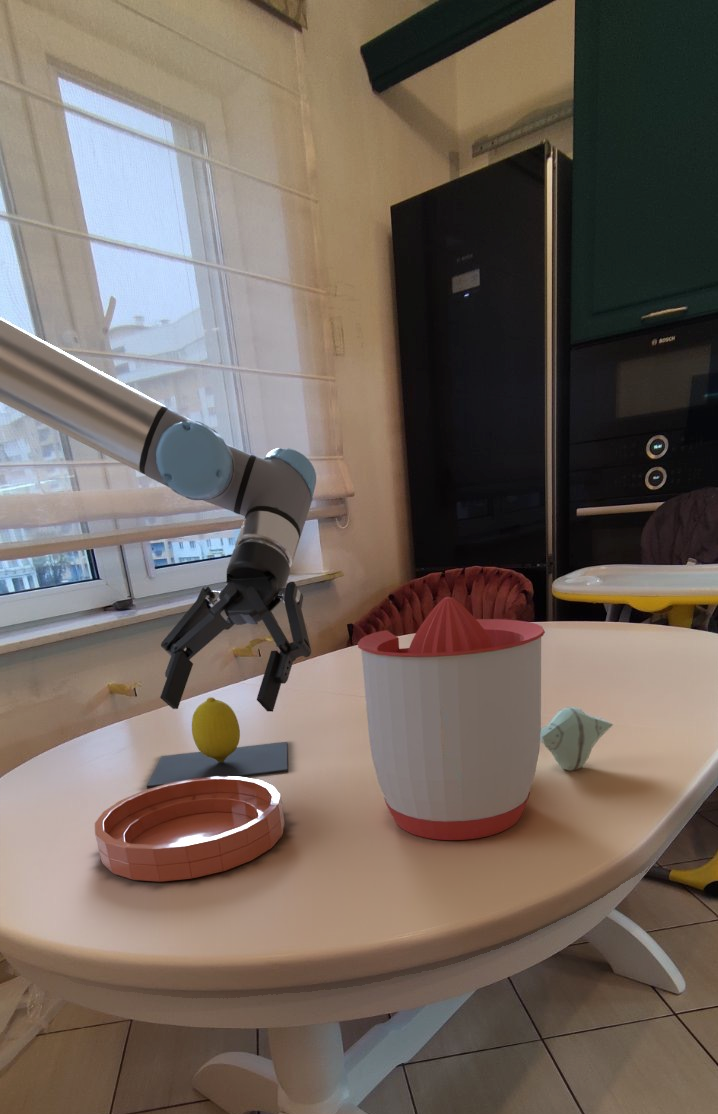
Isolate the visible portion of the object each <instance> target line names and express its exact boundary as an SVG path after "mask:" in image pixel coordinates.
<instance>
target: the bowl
mask: <svg viewBox="0 0 718 1114" xmlns="http://www.w3.org/2000/svg"><path fill="white" fill-rule="evenodd" d="M284 817H285V816H284V812H283V803H282V796H281V793H280V792H279V790H277V788H276V787H275V786H274V785H272V784H270V783H268V782H265V781H264V780H261V779H255V778H250V777H225V776H215V777H205V778H194V779H188V780H183V781H178V782H173V783H168V784H164V785H160V786H157V787H154V788H148V789H147V788H146V789H143V790H141V791H139V792H137V793H134V794H131V795H130V796H127V797H126V798H123V799H120V800H118V801H117V802H116V803H114V804H113V805H111V806H110V807H108V808H107V809H105V810H103V812H102V813H101V814H100V815H99V817H98V818H97V819H96V821H95V822H94V836H95V840H96V842H97V844H96V845H97V847H98V853H99V855H100V860H101V863H102V865H103V866H104V867H106V868H107V869H108V870H109V872H111V873H112V874H114V875H117V876H119V877H124V878H126V879H130V880H132V881H133V880H134V881H146V882H169V881H170V882H171V881H180V880H189V879H190V880H192V879H196V878H200V877H204V876H209V875H213V874H217V873H221V872H225V871H228V870H231V869H233V868H236V867H239V866H241V865H244V864H246V863H249V862H251V861H254V859H257V858H258V857H260V856H261V855H263V854H265V853H266V852H267V851H269V850H271V849H272V848H273V847H274V846H275V844H276V843H277V842H278V841H279V840H280V839H281V838H282V837H283V834H284V829H285V818H284Z"/></svg>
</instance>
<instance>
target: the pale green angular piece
mask: <svg viewBox="0 0 718 1114" xmlns="http://www.w3.org/2000/svg"><path fill="white" fill-rule="evenodd" d="M613 726H614V724H613V723H612V722H609V721H607V720H605V719H604V718H602V717H598V716H597V717H596V716H593V715H591V714H589V713H586V712H585V711H584V710H582V709H581V708H579V707H576V706H567V707H565V708H562V709H560V710H558V711H557V713H556V714H555V715H554V716H553V718H552V719H551V720H550V722H549V723H548V724H547V725H546V726H544V727H541V734H540V742H541V743H542V744H543V746H544V747H545V748H546V749H547V750H548V751H549V752H550V753H551V755H552V756H553V758H554V760H555V761H556V763H557V764H558V765H559V767H560V768H561V769H563V770H566V771H576V770H579V769H581V768H582V767H584V765H585V764H586V762H587V761H588V760H589V758H590V756H591V752H592V750H593V748H594V747H595V745H596V744H597V742H598V741H599V740H600V738H602V737H603V736H604V734H606V733H607V731H609V730H610V728H612V727H613Z"/></svg>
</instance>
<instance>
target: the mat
mask: <svg viewBox="0 0 718 1114" xmlns="http://www.w3.org/2000/svg"><path fill="white" fill-rule="evenodd" d="M288 759H289V758H288V741H282V742H274V743H266V744H265V743H263V744H257V745H248V746H237V748H236V749H235V751H234V752H233V753H232V754H230V755H229V756H227V757H226V759H225V760H224V762H218V761H217V760H215V759H214V758H210V757H207V756H205V755H204V754H203V753H202V752H200V751H196V752H195V751H194V752H187V753H180V754H177V753H176V754H170V755H161V757H160V759H159V761H158V763H157V765H156V766H155V769H154V771H153V773H152V775H151V777H150V778H149V781H148V783H147V784H146V790H147V789H150V788H154V787H157V786H160V785H164V784H168V783H173V782H178V781H183V780H188V779H194V778H205V777H215V776H225V777H244V778H250V777H258V776H264V775H265V776H266V775H267V776H268V775H274V774H281V773H282V774H283V773H288V772H289V769H288V768H289V767H288V765H289V764H288V763H289V762H288V761H289V760H288Z"/></svg>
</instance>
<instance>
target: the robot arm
mask: <svg viewBox="0 0 718 1114" xmlns="http://www.w3.org/2000/svg"><path fill="white" fill-rule="evenodd" d="M0 403H2V404H4V405H6V406H7V407H10V408H11V409H14V410H15V411H17V412H19V413H22V414H23V415H26V416H27V417H30V418H32V419H33V420H34V421H35V420H36V421H37V422H39V423H42V424H43V425H45V426H47V427H49V428H52V429H54V430H55V431H57V432H60V433H61V434H63V435H65V436H67V437H70V438H71V439H73V440H75V441H78V442H79V443H81V444H83V445H85V446H87V447H89V448H91V449H93V450H95V451H97V452H100V453H101V454H103V455H105V456H107V457H109V458H111V459H113V460H114V461H117V462H119V463H122V464H123V465H125V466H127V467H128V468H131V469H133V470H135V471H137V472H139V473H141V474H143V475H144V476H146V477H148V478H150V479H152V480H153V481H155V482H157V483H160V484H162V485H164V486H165V487H167V488H169V489H170V490H171V491H173V492H174V493H176V494H177V495H179V496H181V497H184V498H186V499H188V500H191V501H203V502H206V503H209V504H211V505H214V506H216V507H218V508H221V509H224V510H228V511H230V512H232V513H234V514H236V515H239V516H242V517H244V518H243V522H242V525H241V527H240V529H239V533H238V536H237V537H236V541H235V544H234V548H233V551H232V553H231V556H230V558H229V562H228V565H227V568H226V581H225V585H224V587H223V588H222V589H221V590H220V591H218V590H212V589H211V588H210V586H208V585H205V586H203V587H202V588H201V590H200V592H199V594H198V597H197V598H196V601H194V603H193V604H192V605H191V606H190V607H189V609H188V610H187V611H186V612H185V614H184V615H182V617H181V618H180V619H179V621H178V622H177V623H176V624H175V625H174V627H173V628H172V629H171V630H170V632H169V633H168V634H167V635H166V637H165V638H164V639H163V640H162V641H161V643H160V647H161V648H162V649H163V650H164V651H165V652H166V653H167V654H168V655H169V656H170V658H169V661H168V664H167V667H166V670H165V672H164V675H165V676H164V677H165V678H166V680H165V683H164V686H163V688H162V691H161V694H160V697H159V698H160V699H161V700H162V701H163V702H164V703H166V704H167V705H168V706H169V707H170V708H171V709H172V710H178V709H179V706H180V703H181V701H182V698H183V694H184V693H185V690H186V687H187V683H188V680H189V677H190V674H191V671H192V668H193V667H194V666H193V665H194V663H193V662H192V661H191V659H192V658H193V657H194V656H195V655H197V654H198V653H199V652H200V651H202V649H204V648H205V647H206V646H207V645H208V644H209V643H211V642H212V641H213V640H214V639H215V638H216V637H217V636H219V635H220V634H221V633H222V632H223V631H225V630H227V631H228V630H230V629H232V627H233V626H235V625H236V626H242V625H246V624H249V625H258V624H259V623H260V622H262V623H263V624H264V626H265V628H266V630H267V631H268V633H269V634H270V636H271V638H272V640H273V641H274V643H275V645H276V646H275V647H277V649H278V650H279V651H278V650H271V651H270V653H269V658H268V661H267V664H266V667H265V669H264V674H263V677H262V679H261V684H260V687H259V690H258V693H257V697H256V701H257V702H258V703H259V704H260V705H261V706H262V707H263V709H264V710H265V711H266V712H273V713H274V710H275V707H276V702H277V699H278V696H279V692H280V689H281V685H283V684H284V685H285V684H286V683H287V682H288V680H289V677H290V673H291V670H292V667H293V663H294V662H295V661H296V660H297V659H298V658H301V657H303V658H309V657H310V656H311V655H312V648H311V643H310V640H309V635H308V631H307V627H306V626H307V625H306V623H305V622H306V621H305V618H304V614H303V610H302V608H303V607H302V606H303V601H304V595H303V593H302V592H301V590H300V589H299V587H298V586H297V584H296V583H295V581H289V582H288V579H289V576H290V574H291V567H292V565H293V563H294V559H295V556H296V553H297V549H298V547H299V543H300V539H301V537H302V533H303V530H304V527H305V525H306V521H307V518H308V515H309V512H310V509H311V505H312V502H313V500H314V493H315V489H316V484H317V473H316V469H315V467H314V465H313V463H312V462H311V461H310V459H309V458H307V457H306V456H305V455H304V454H303V453H301V452H300V451H298V450H296V449H293V448H289V447H288V448H281V447H277V448H275V449H272V450H270V451H269V452H268V453H267V454H266V456H264V458H262V457H260V456H259V455H254V454H251V453H248V452H246V451H243V450H241V449H239V448H237V447H235V446H232V445H231V444H228V443H226V441H225V439H224V438H222V437H221V435H220V434H219V432H218V431H216V430H215V429H213V428H212V427H210V426H208V425H206V424H204V423H202V422H200V421H195V420H192V419H190V418H188V417H187V416H185V415H183V414H181V413H179V412H178V411H175V410H173V409H170V408H169V407H167V406H165V405H164V404H163V403H160V402H159V401H158V400H157V401H156V400H155V399H153V398H151V397H150V396H147V395H146V394H144V393H142V392H140V391H138V390H137V389H135V388H133V387H130V386H129V385H126V384H125V383H123V382H121V381H119V380H118V379H116V378H114V377H112V376H110V375H108V374H106V373H104V371H100V370H98V369H97V368H95V367H93V366H91V365H90V364H88V363H86V362H85V361H82V360H80V359H78V358H76V357H75V356H73V355H71V354H69V353H67V352H65V351H63V350H62V349H60V348H58V347H56V346H54V345H52V344H50V343H48V342H47V341H44V340H42V339H41V338H39V337H37V336H35V335H33V334H32V333H29V332H27V331H26V330H24V329H22V328H20V327H18V326H16V325H14V323H13V324H12V323H11V322H10V321H7V320H5V319H4V318H2V317H0ZM281 602H283V604H284V606H285V611H286V616H287V621H288V625H289V630H290V634H291V638H292V642H289V639H287V637H286V635H285V633H284V631H283V630H282V627H280V624H279V622H278V621H277V619H276V617H275V615H274V614H273V612H272V611H274V610H275V609H276V608H277V607H278V606H279V605H280V604H281ZM222 612H224V613H225V615H226V617H227V618H224V617H223V616H222Z"/></svg>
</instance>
